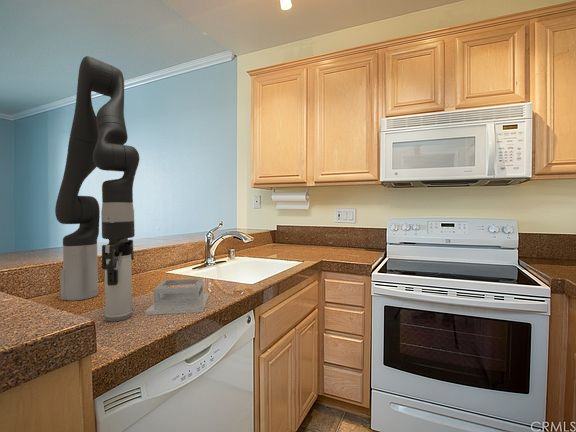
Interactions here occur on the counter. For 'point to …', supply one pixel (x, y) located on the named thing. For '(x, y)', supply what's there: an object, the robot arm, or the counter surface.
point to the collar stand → (178, 297)
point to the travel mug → (120, 289)
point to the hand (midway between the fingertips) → (119, 281)
